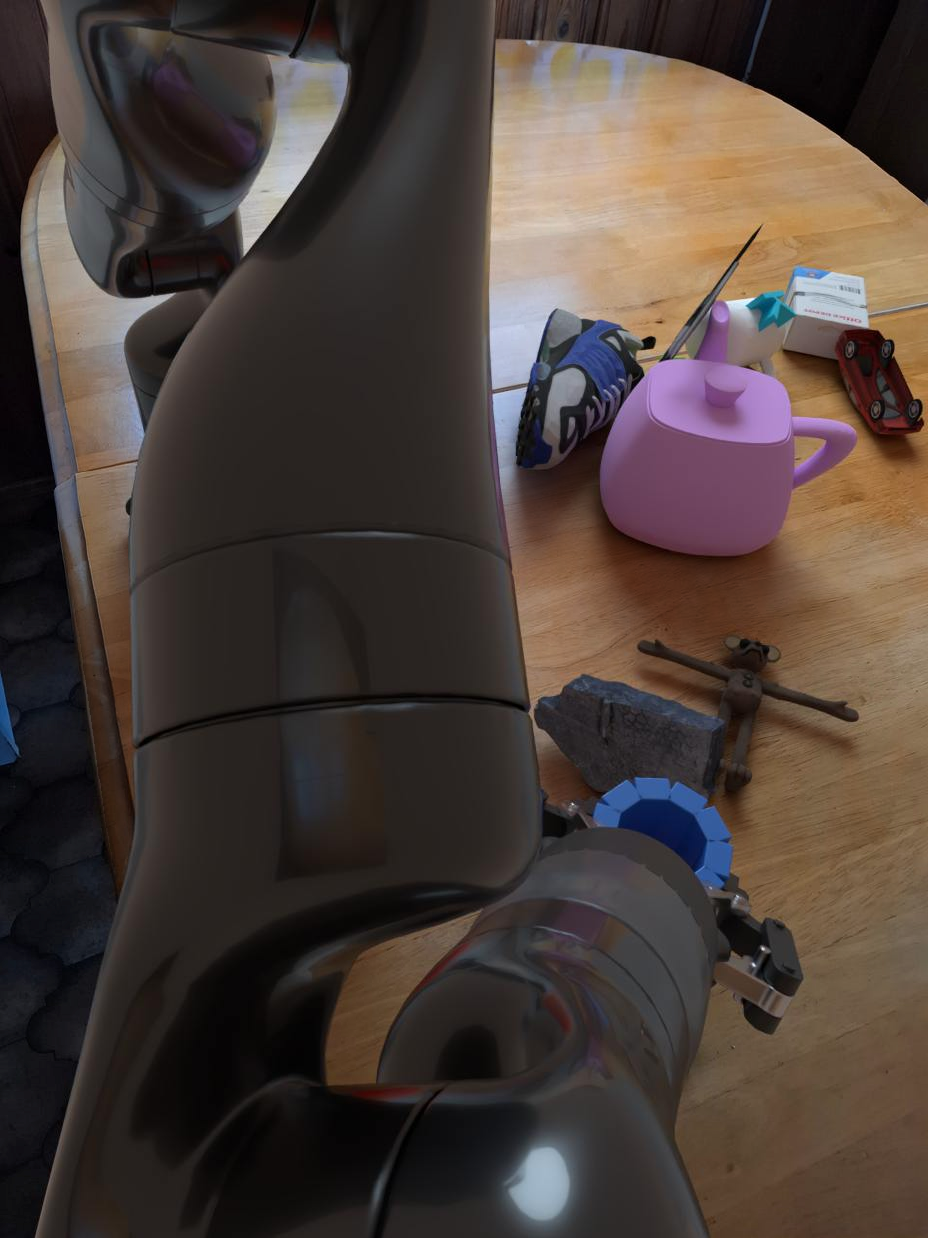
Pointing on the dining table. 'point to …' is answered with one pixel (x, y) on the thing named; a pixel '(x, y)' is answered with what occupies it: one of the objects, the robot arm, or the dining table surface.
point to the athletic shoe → (575, 385)
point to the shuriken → (704, 306)
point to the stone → (632, 735)
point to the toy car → (877, 382)
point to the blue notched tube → (672, 823)
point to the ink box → (823, 310)
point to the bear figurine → (745, 694)
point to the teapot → (710, 453)
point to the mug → (750, 331)
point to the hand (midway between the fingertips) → (654, 853)
